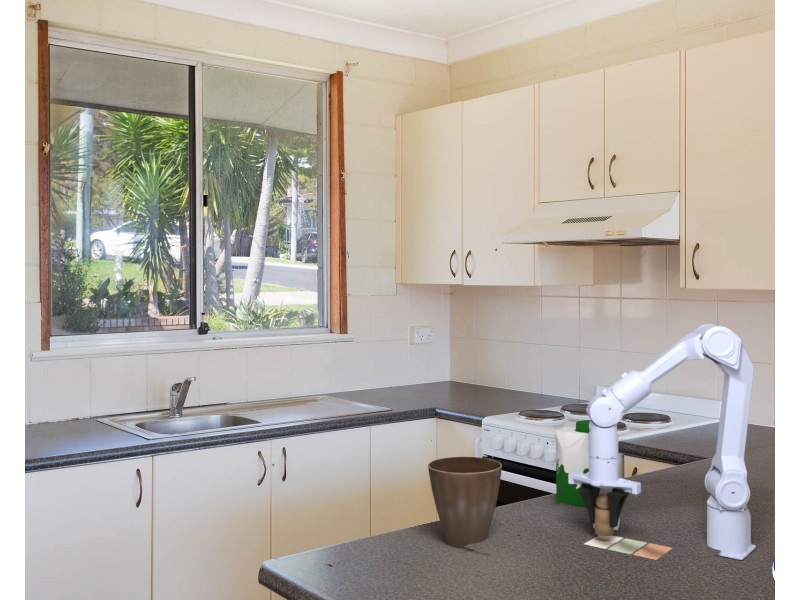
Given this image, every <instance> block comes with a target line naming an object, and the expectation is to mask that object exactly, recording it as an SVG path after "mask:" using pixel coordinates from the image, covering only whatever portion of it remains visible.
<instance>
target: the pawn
mask: <svg viewBox="0 0 800 600" xmlns="http://www.w3.org/2000/svg"><path fill="white" fill-rule="evenodd" d="M596 505H597V506H596V507H595V528H594V534H595V535H597V536H599V535H600V536H614V531H615V530H614V528H611V527H610V508H609V501H608V497H607V493H602V494H601V493H600V494H599V496H598V497H597V498H596Z"/></svg>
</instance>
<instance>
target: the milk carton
mask: <svg viewBox="0 0 800 600" xmlns="http://www.w3.org/2000/svg"><path fill="white" fill-rule="evenodd" d="M589 423H590V420H578V421H575V426H565V427H562V428H559V429H557V430H555V431H554V438H555V440H554V441H555V477H556V478H555V488H556V489H555V490H556V492H555V493H556V495H555V496H556V505H559V504H565V505H570V506H575V507H580V508H586V505H585V503H584V501H583V499H582V497H581V495H580V494H579V489H580V488H581V485H580V484H569V483H568V474H570V473H581V474H589V431H590V430H589ZM586 509H587V508H586Z"/></svg>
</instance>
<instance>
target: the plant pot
mask: <svg viewBox="0 0 800 600" xmlns="http://www.w3.org/2000/svg"><path fill="white" fill-rule="evenodd" d="M427 469H428V475H429V482H430V488H431V492H432V496H433V500H434V504H435V508H436V513H437V515H438V520H439V521H440V526H441V528H442V531H443V533H444V536H445V539H446V541H447V543H448V545H450V546H452V547H454V548H457V549H467V546H468V545H471V544H478V543H483V542H484V541H486V539H487V536H488V534H489V530H490V528H491V526H492V525H491V524H492V521H493V519H494V515H495V514H494V513H495V509H496V505H497V501H498V496H499V489H500V485H501V477H502V470H503V464H502V463H501V462H500V461H498V460H495V459H491V458H485V457H478V456H477V457H476V456H452V457H451V456H449V457H443V458H437V459H434V460H432V461H430V462H429V463H428V464H427Z"/></svg>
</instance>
